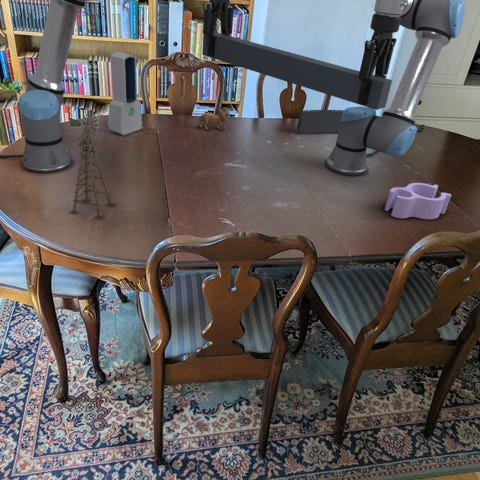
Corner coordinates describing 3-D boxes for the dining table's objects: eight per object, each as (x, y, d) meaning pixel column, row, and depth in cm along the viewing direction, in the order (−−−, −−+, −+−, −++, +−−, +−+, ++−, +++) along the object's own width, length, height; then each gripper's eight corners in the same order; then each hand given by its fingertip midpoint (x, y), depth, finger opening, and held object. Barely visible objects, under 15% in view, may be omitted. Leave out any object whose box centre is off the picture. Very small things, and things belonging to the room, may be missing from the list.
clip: (399, 222, 147) (405, 203, 144) (377, 203, 157) (382, 185, 153) (449, 217, 154) (457, 198, 150) (426, 199, 163) (432, 181, 160)
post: (202, 54, 171) (203, 32, 167) (212, 53, 174) (213, 31, 170) (376, 110, 132) (383, 82, 128) (385, 107, 135) (392, 80, 131)
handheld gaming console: (340, 130, 217) (344, 109, 212) (343, 132, 215) (347, 111, 209) (295, 131, 210) (299, 109, 204) (298, 134, 208) (301, 111, 202)
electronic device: (121, 136, 186) (117, 57, 170) (107, 131, 189) (102, 53, 173) (142, 128, 196) (141, 53, 179) (129, 124, 199) (126, 49, 182)
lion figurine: (226, 125, 208) (227, 105, 203) (230, 130, 204) (231, 109, 199) (194, 126, 203) (195, 106, 198) (197, 131, 199) (198, 110, 194)
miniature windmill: (98, 218, 133) (90, 115, 117) (71, 213, 134) (59, 110, 118) (112, 203, 141) (106, 105, 124) (86, 199, 142) (76, 100, 125)
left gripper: (209, -17, 149) (205, 59, 162) (247, -16, 161) (240, 55, 173) (193, -20, 153) (190, 55, 166) (231, -19, 165) (226, 51, 177)
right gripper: (383, 18, 115) (362, 110, 128) (415, 15, 127) (393, 100, 140) (357, 13, 119) (339, 103, 132) (391, 10, 131) (371, 93, 144)
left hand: (216, 55), depth 169 cm, fingers closed on post, 5 cm apart
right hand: (367, 101), depth 136 cm, fingers closed on post, 5 cm apart
